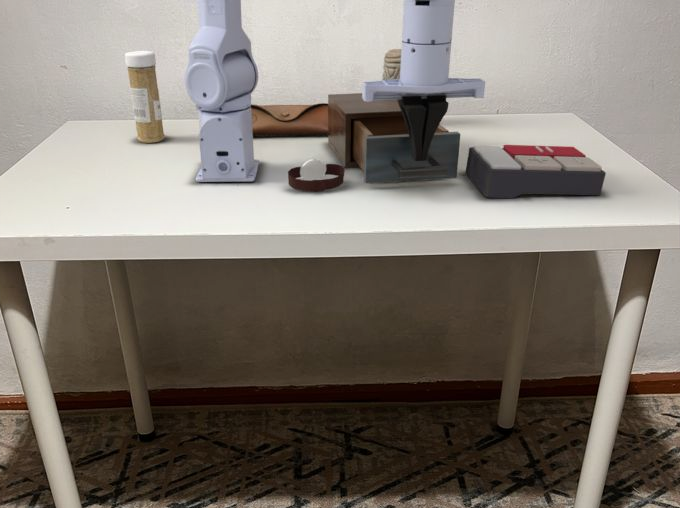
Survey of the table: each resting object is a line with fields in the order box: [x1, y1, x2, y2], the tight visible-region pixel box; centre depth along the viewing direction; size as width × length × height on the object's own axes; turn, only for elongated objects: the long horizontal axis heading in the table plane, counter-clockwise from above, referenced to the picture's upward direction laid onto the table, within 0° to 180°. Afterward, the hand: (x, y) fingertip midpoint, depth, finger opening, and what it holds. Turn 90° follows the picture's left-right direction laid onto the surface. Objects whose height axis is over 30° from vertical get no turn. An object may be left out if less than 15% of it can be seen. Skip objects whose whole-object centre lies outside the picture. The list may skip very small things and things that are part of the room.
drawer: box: [351, 117, 461, 185], centre depth 94 cm, size 18×12×6 cm
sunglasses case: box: [251, 102, 328, 138], centre depth 119 cm, size 18×7×7 cm
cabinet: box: [327, 92, 417, 169], centre depth 106 cm, size 14×14×8 cm
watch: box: [287, 157, 346, 193], centre depth 92 cm, size 8×5×4 cm, turn 107°
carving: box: [381, 48, 420, 94], centre depth 121 cm, size 6×8×12 cm
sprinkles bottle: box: [124, 50, 166, 144], centre depth 112 cm, size 5×5×13 cm
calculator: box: [465, 144, 607, 199], centre depth 93 cm, size 11×4×15 cm
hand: (418, 158), depth 88 cm, fingers closed
